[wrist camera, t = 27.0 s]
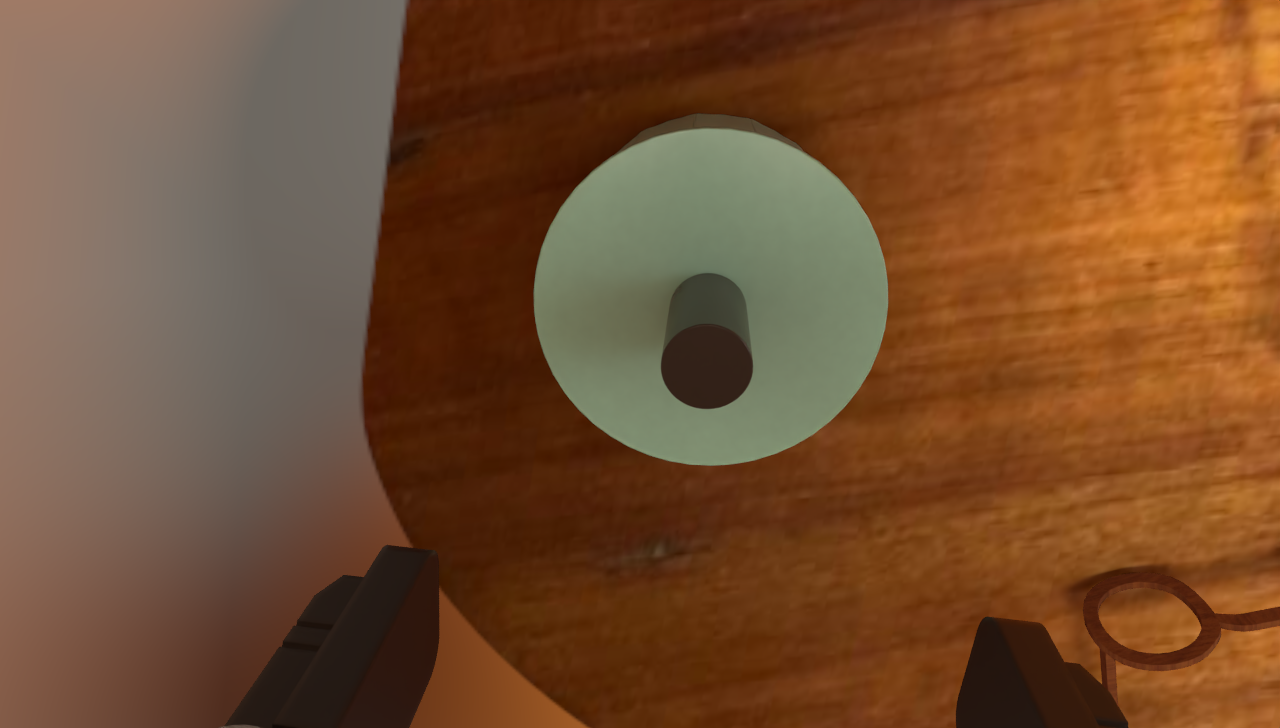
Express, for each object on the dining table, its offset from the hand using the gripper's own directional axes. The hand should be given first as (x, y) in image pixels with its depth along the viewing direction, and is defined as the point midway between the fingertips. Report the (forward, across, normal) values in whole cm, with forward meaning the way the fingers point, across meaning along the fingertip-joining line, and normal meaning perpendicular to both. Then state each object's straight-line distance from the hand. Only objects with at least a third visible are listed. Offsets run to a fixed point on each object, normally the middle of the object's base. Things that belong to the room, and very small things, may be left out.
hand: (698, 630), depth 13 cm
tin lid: (+16, 0, 0) cm, 16 cm away
